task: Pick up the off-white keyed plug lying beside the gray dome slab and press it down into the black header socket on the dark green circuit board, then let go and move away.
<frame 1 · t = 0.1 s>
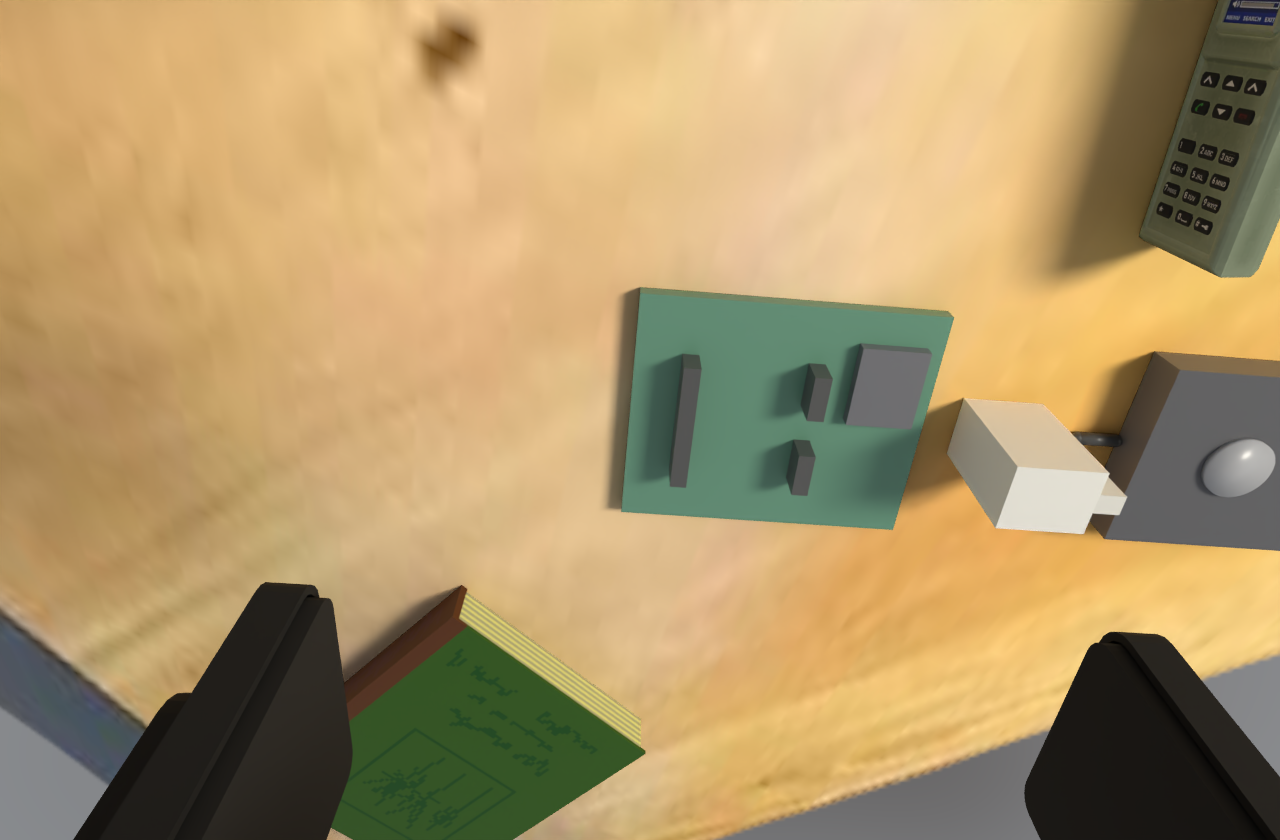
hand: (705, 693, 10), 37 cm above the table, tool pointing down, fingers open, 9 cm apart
gray dome slab: (1208, 444, 51), on the table
hardcover book: (452, 728, 64), on the table
board: (774, 413, 50), on the table
plug: (994, 429, 50), on the table
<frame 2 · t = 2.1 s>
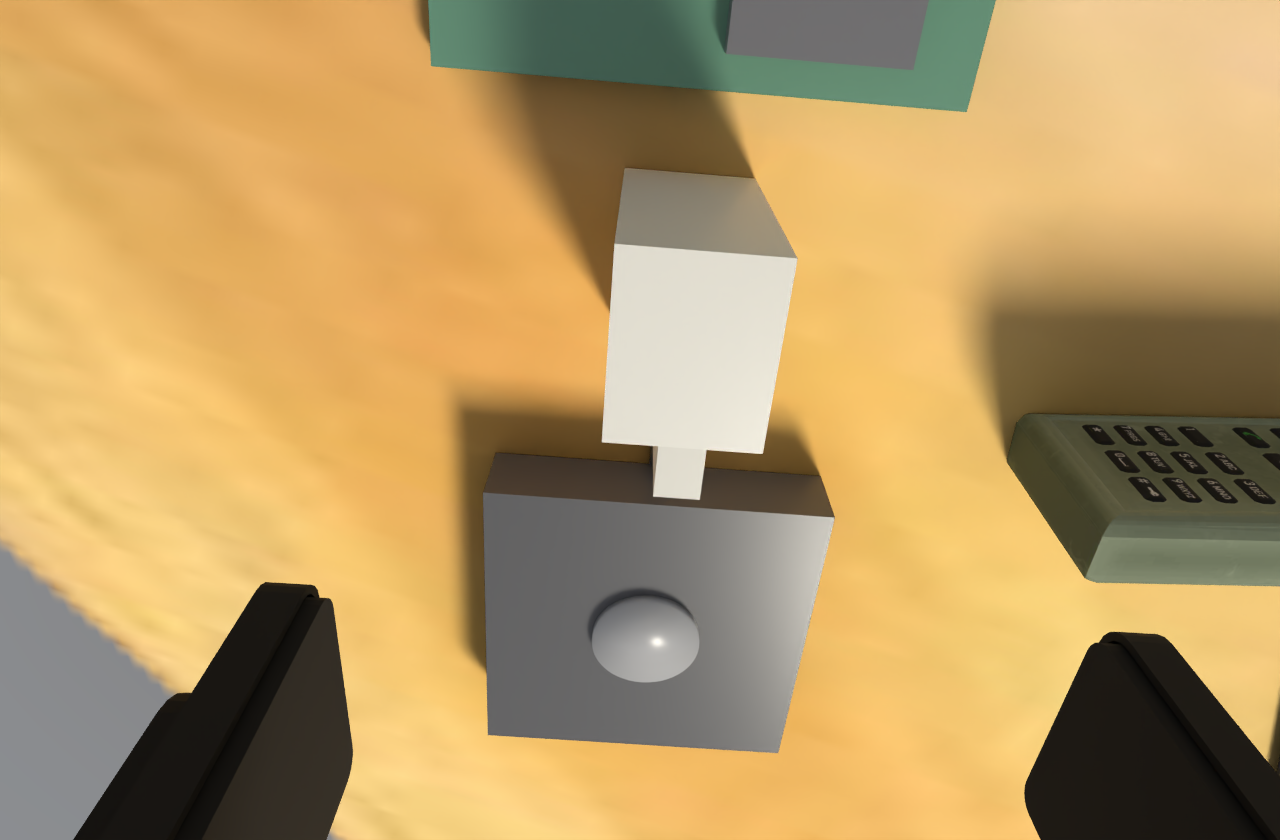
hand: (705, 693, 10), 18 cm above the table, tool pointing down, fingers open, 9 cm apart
gray dome slab: (645, 589, 32), on the table
plug: (681, 252, 26), on the table
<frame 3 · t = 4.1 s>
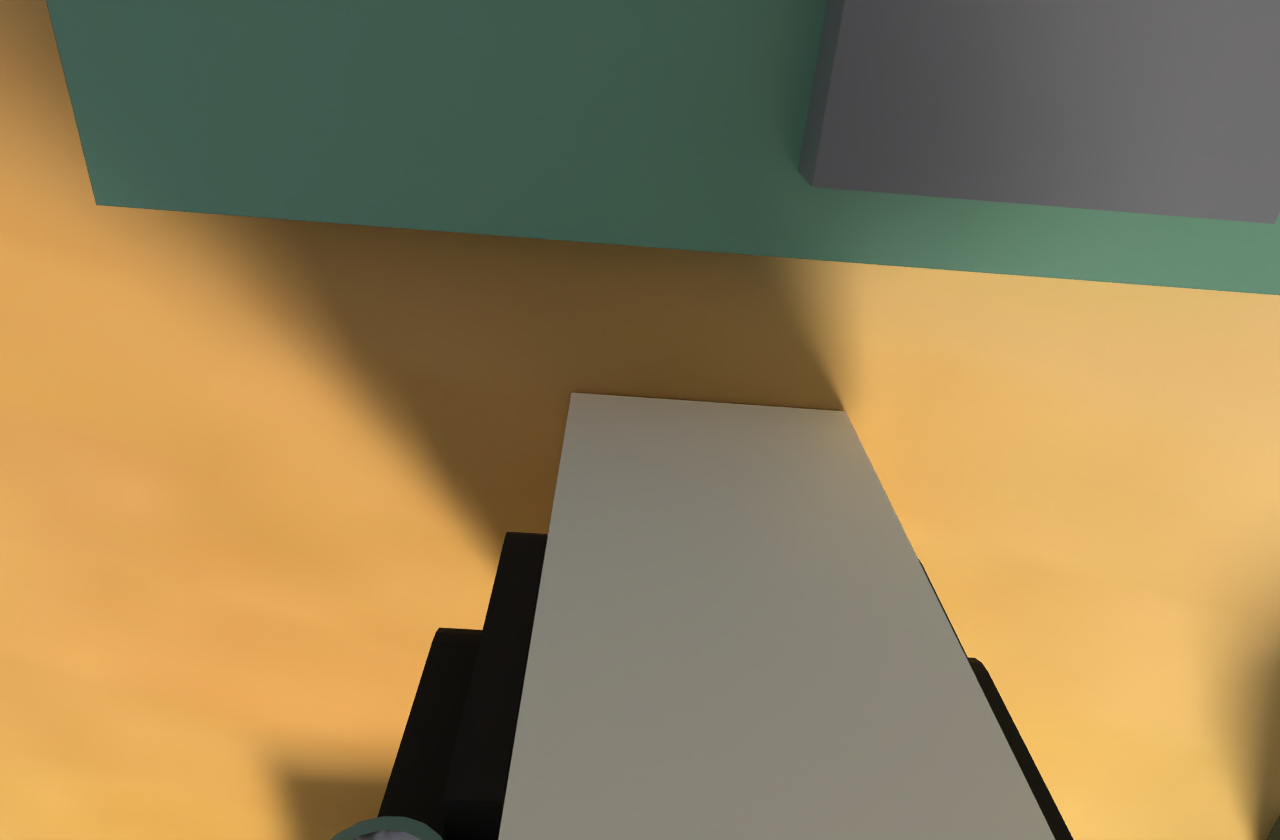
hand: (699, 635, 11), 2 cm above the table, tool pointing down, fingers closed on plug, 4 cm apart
plug: (690, 540, 13), on the table, touching gripper
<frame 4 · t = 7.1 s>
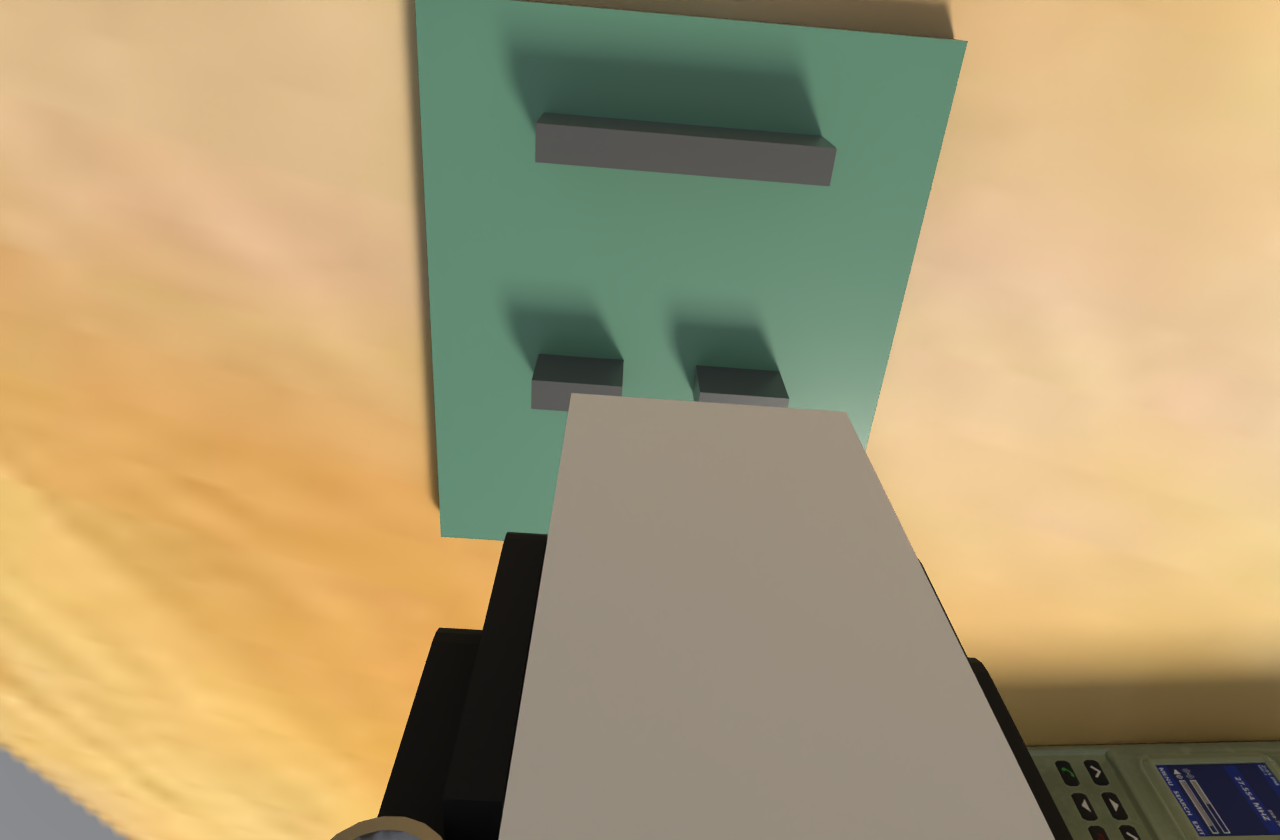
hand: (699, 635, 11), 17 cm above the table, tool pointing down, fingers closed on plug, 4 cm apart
handheld radio: (1155, 752, 38), on the table
board: (662, 316, 27), on the table
plug: (690, 541, 13), point 15 cm above the table, touching gripper
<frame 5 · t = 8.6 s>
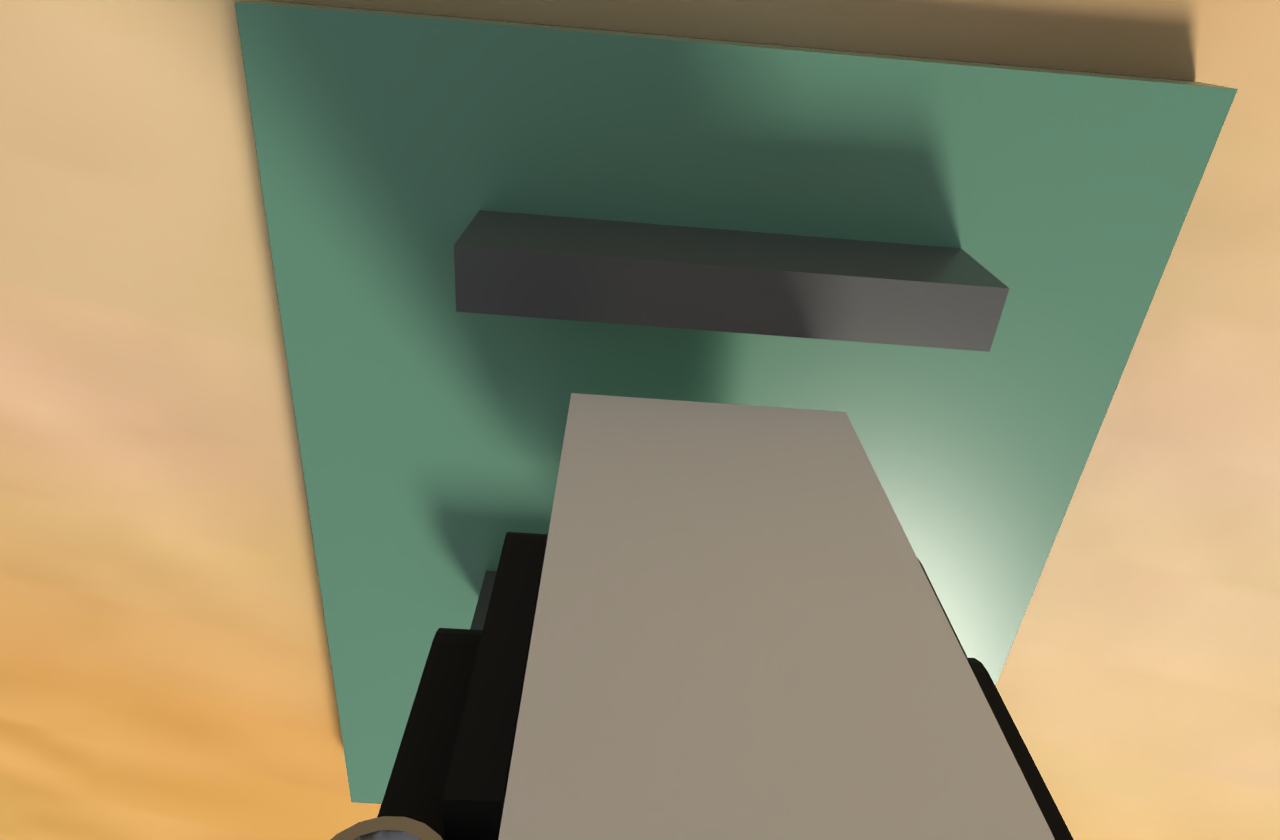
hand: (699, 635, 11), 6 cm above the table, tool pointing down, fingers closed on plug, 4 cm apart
board: (681, 506, 17), on the table
plug: (690, 541, 13), point 4 cm above the table, touching gripper
when the fingers open (3 cm above the table, at t = 10.1 s): plug stays where it is, resting on board.
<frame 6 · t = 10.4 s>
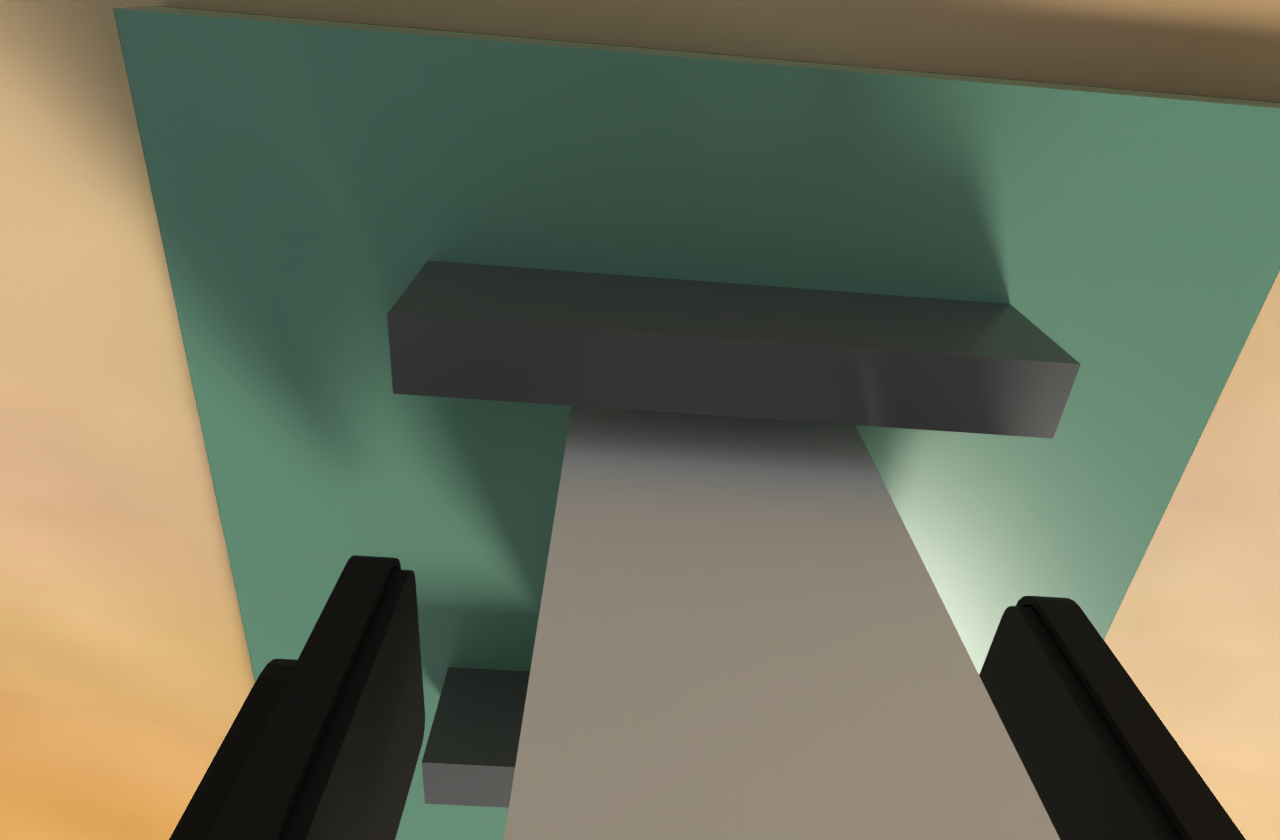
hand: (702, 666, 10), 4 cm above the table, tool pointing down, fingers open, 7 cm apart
board: (675, 589, 15), on the table
plug: (691, 533, 13), point 1 cm above the table, touching board
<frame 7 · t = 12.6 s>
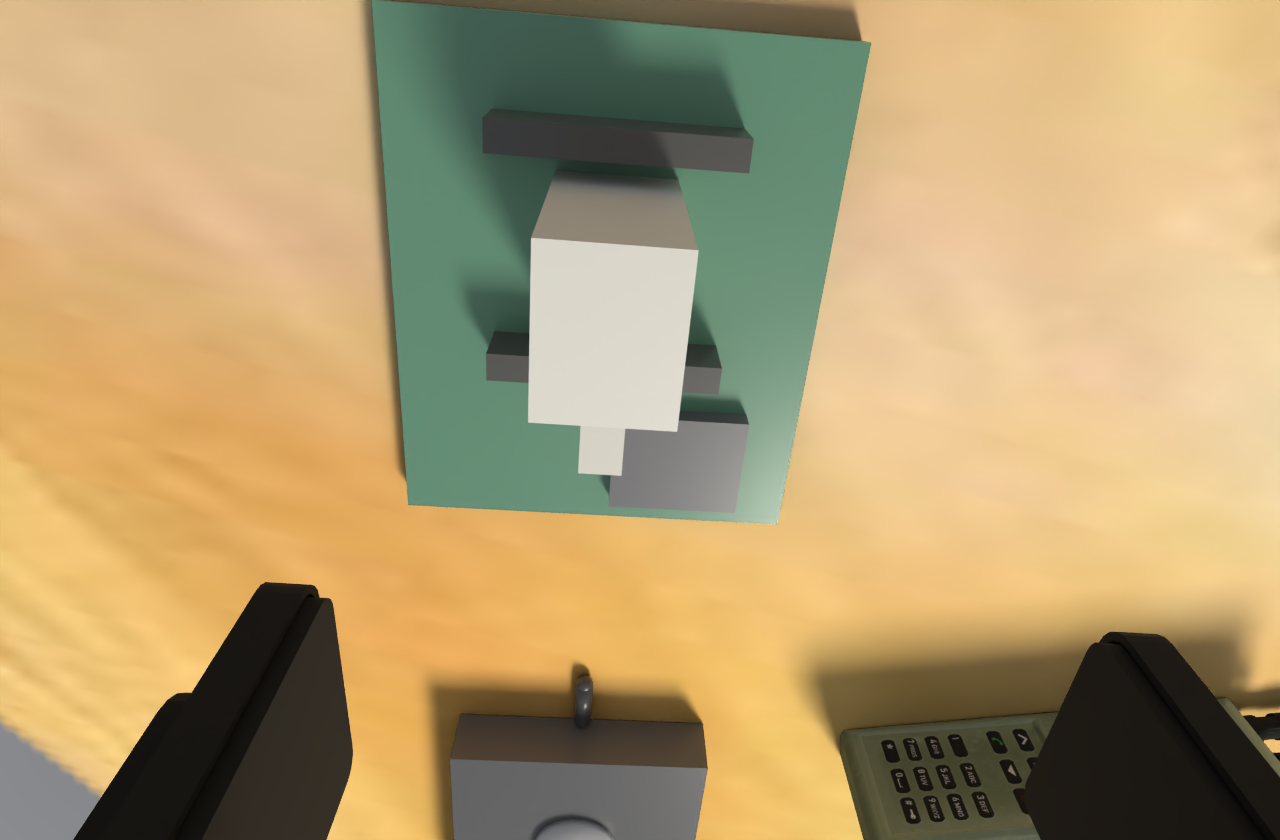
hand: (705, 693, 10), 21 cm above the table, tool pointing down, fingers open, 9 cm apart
gray dome slab: (577, 798, 42), on the table
handheld radio: (1082, 718, 41), on the table
board: (608, 295, 29), on the table
plug: (612, 249, 27), point 1 cm above the table, touching board
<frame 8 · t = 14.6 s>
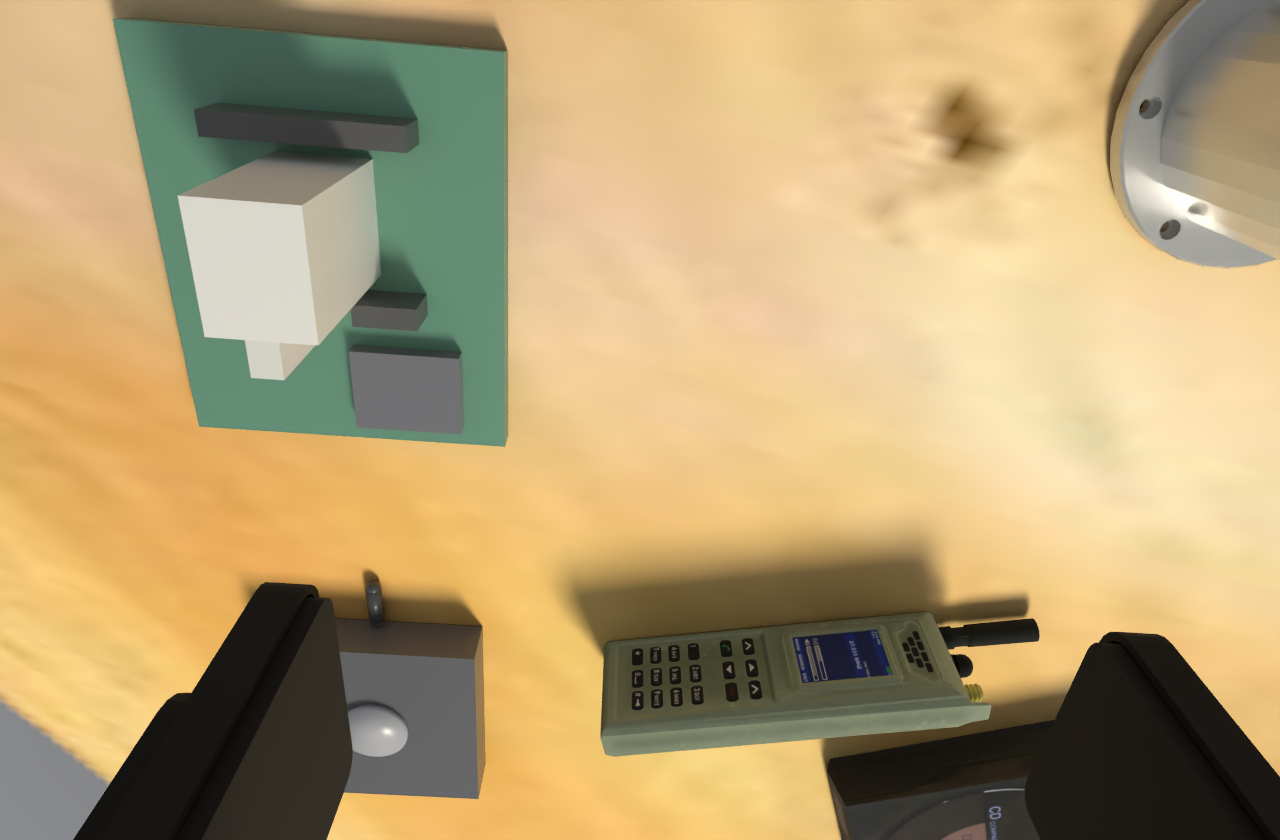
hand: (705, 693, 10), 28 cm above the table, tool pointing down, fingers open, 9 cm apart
gray dome slab: (386, 693, 50), on the table
handheld radio: (813, 632, 48), on the table
portable cd player: (960, 807, 56), on the table
board: (341, 253, 36), on the table
plug: (330, 215, 34), point 1 cm above the table, touching board
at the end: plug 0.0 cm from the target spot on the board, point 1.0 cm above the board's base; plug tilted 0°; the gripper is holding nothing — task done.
